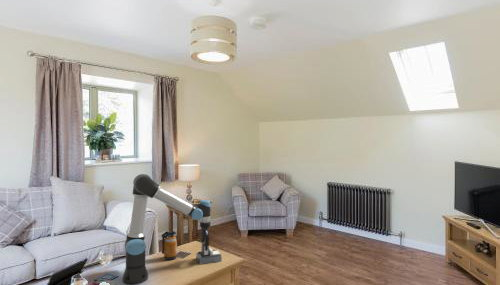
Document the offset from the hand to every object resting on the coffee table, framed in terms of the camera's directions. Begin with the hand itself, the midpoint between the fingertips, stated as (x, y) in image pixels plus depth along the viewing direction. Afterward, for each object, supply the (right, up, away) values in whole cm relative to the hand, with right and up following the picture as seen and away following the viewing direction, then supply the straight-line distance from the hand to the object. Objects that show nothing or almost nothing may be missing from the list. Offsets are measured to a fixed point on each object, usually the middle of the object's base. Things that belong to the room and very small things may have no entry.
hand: (204, 252), depth 226 cm
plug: (0, -5, 0) cm, 5 cm away
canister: (-27, -5, +3) cm, 28 cm away
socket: (+2, -5, +1) cm, 6 cm away
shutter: (+7, -1, +3) cm, 7 cm away
